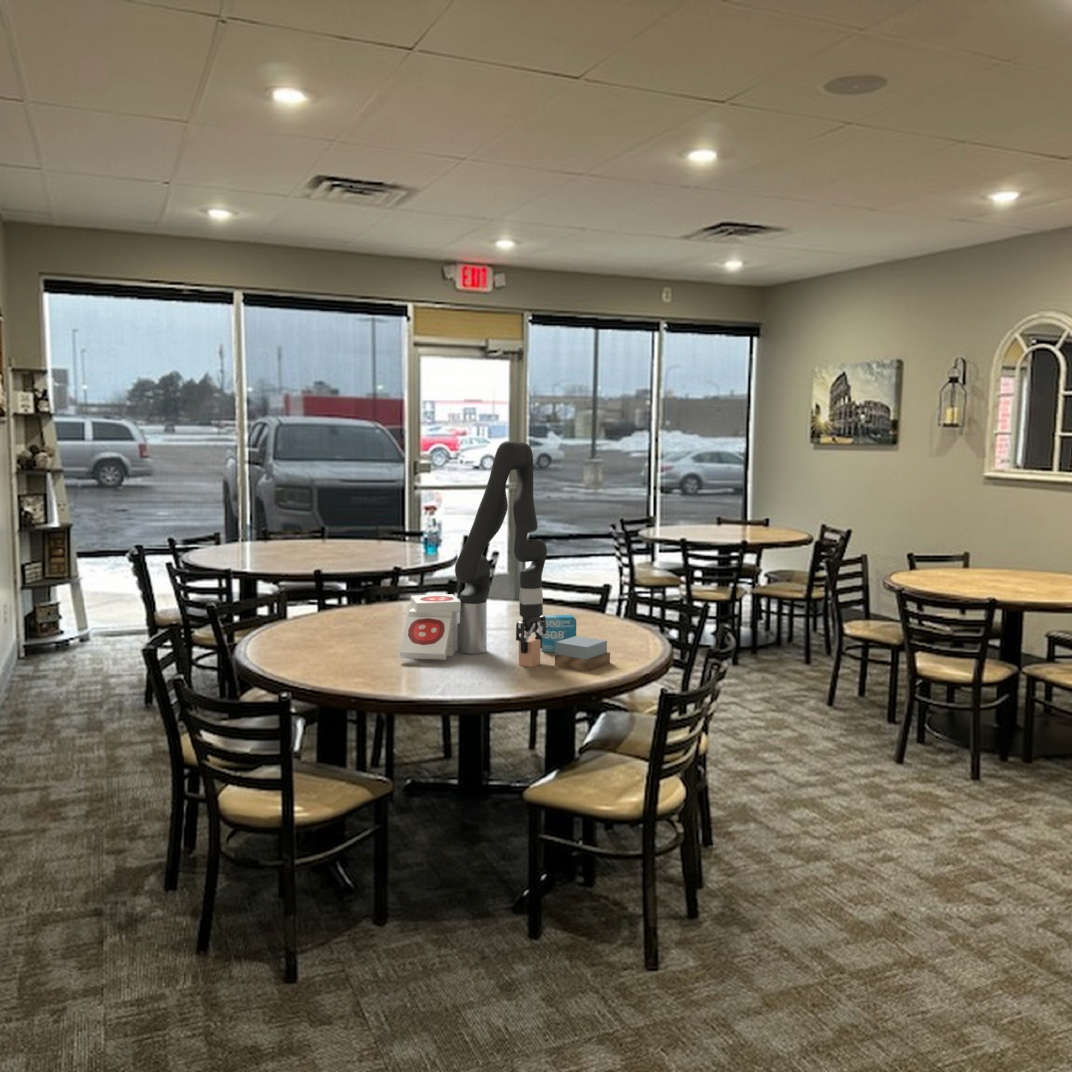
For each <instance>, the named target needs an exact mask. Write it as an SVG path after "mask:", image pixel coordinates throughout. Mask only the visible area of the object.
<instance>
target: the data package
mask: <svg viewBox="0 0 1072 1072" xmlns="http://www.w3.org/2000/svg"><path fill="white" fill-rule="evenodd" d="M543 616H545V617H546V634H543V637H542V648H540V650H542V651H543V652H545V653H556V642H558V641H561V640H564V639H568V638H571V637H574V636H577V619H576V618H575V617H574V615H572V614H550V615H547V614H543ZM541 628H542V630H543V627H541Z"/></svg>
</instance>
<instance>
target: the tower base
mask: <svg viewBox="0 0 1072 1072" xmlns="http://www.w3.org/2000/svg"><path fill="white" fill-rule="evenodd" d="M610 663H611V652H609V651H607V653H605V654H602V655H599V656H596V657H593V658H590V659H587V660H586V659H580V658H574V657H569V656H563V655H557V654H556V653H555V654H554V666H556V667H562V668H567V669H575V670H578V671H579V670H581V671H584V672H585V671H586V672H592V671H594V670H596V669H599V668H601V667H604V666H606V665H609V664H610Z"/></svg>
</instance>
